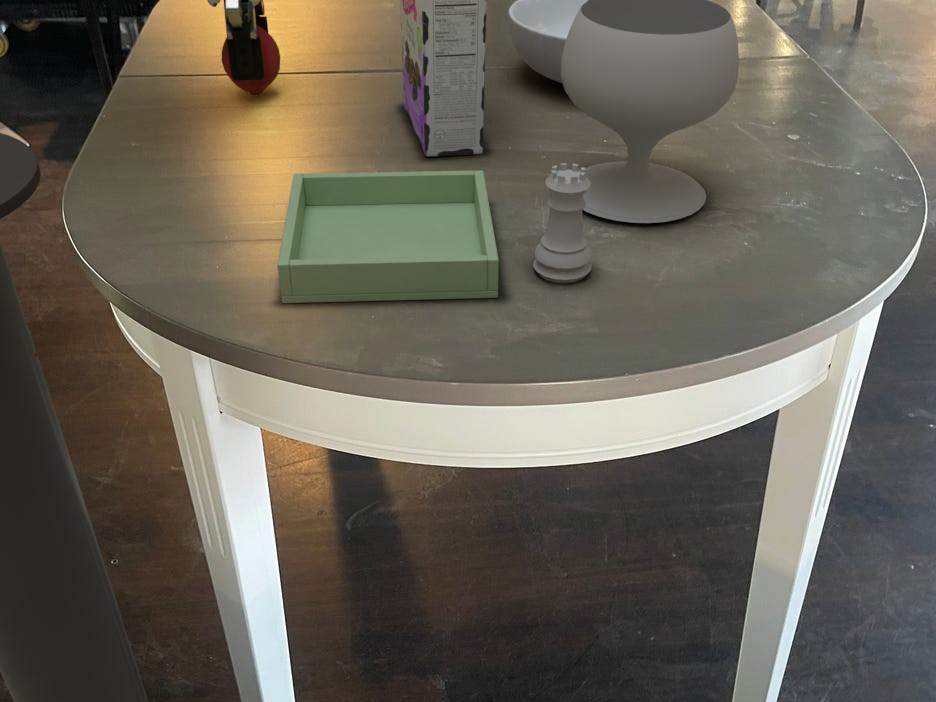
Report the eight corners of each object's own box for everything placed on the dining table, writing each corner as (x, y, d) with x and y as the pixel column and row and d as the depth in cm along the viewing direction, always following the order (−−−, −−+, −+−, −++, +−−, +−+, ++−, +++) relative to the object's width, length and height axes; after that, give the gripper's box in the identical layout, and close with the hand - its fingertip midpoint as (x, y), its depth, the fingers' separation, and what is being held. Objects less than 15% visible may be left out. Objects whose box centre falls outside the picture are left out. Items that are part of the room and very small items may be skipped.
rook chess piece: (567, 291, 75) (575, 189, 70) (520, 272, 77) (524, 171, 72) (602, 269, 77) (612, 169, 72) (556, 251, 80) (562, 152, 74)
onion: (269, 108, 103) (258, 25, 98) (217, 101, 104) (204, 19, 99) (293, 89, 107) (284, 8, 102) (243, 83, 108) (232, 3, 103)
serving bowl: (733, 75, 112) (744, 9, 107) (627, 129, 99) (635, 56, 95) (580, 36, 122) (584, -26, 117) (467, 80, 110) (467, 13, 105)
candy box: (401, 105, 104) (394, -74, 93) (458, 102, 105) (457, -76, 94) (423, 159, 93) (419, -36, 83) (486, 154, 94) (489, -39, 84)
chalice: (565, 235, 82) (579, 41, 72) (543, 165, 92) (552, -12, 83) (735, 230, 83) (771, 38, 73) (694, 161, 93) (720, -14, 84)
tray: (282, 303, 73) (277, 264, 71) (297, 208, 85) (293, 173, 83) (497, 298, 74) (498, 259, 72) (482, 205, 86) (483, 169, 84)
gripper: (197, -151, 98) (225, 42, 110) (167, -117, 85) (203, 98, 97) (275, -151, 99) (295, 41, 110) (257, -118, 86) (282, 97, 97)
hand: (252, 66), depth 103 cm, fingers closed on onion, 5 cm apart
